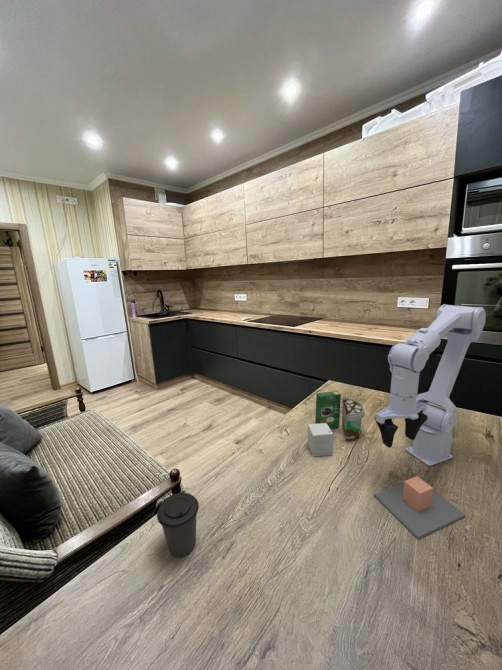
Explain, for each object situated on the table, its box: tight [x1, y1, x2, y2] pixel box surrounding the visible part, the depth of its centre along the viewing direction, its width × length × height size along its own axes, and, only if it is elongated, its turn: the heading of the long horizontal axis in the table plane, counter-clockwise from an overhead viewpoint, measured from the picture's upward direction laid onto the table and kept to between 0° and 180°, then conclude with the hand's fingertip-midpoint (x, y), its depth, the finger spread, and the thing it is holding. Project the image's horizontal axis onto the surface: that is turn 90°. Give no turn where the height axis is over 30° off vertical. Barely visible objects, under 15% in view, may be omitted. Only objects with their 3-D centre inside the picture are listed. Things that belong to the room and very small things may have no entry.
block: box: [403, 475, 434, 512], centre depth 64 cm, size 4×4×5 cm
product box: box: [307, 423, 334, 457], centre depth 84 cm, size 6×6×7 cm
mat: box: [373, 482, 466, 540], centre depth 64 cm, size 14×12×1 cm
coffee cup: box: [156, 492, 200, 559], centre depth 56 cm, size 8×8×10 cm
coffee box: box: [314, 390, 342, 430], centre depth 95 cm, size 8×3×13 cm, turn 103°
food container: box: [341, 397, 366, 442], centre depth 92 cm, size 12×6×10 cm, turn 168°
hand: (398, 441), depth 71 cm, fingers open, 7 cm apart
